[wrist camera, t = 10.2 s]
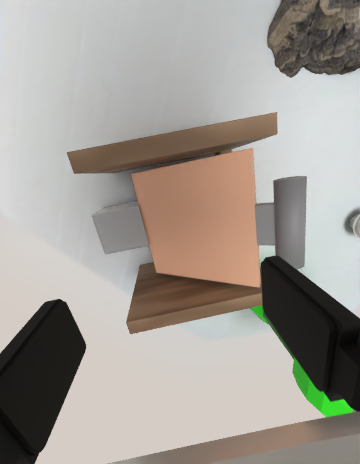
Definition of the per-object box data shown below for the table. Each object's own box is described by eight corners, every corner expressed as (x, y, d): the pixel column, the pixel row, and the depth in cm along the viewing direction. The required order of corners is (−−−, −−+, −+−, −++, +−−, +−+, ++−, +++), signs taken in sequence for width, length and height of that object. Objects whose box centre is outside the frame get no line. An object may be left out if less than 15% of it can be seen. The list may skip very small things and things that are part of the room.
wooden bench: (110, 161, 27) (66, 152, 15) (225, 139, 28) (277, 112, 15) (142, 273, 33) (130, 334, 20) (236, 253, 33) (280, 301, 21)
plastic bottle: (281, 308, 38) (480, 535, 14) (232, 303, 36) (364, 546, 13) (300, 264, 35) (585, 454, 12) (248, 256, 34) (453, 456, 10)
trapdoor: (140, 172, 24) (126, 174, 23) (306, 136, 15) (308, 135, 13) (162, 266, 29) (153, 275, 27) (303, 283, 20) (304, 298, 18)
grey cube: (142, 199, 29) (104, 207, 29) (138, 205, 24) (91, 215, 24) (151, 232, 31) (115, 240, 31) (148, 245, 26) (105, 254, 25)
